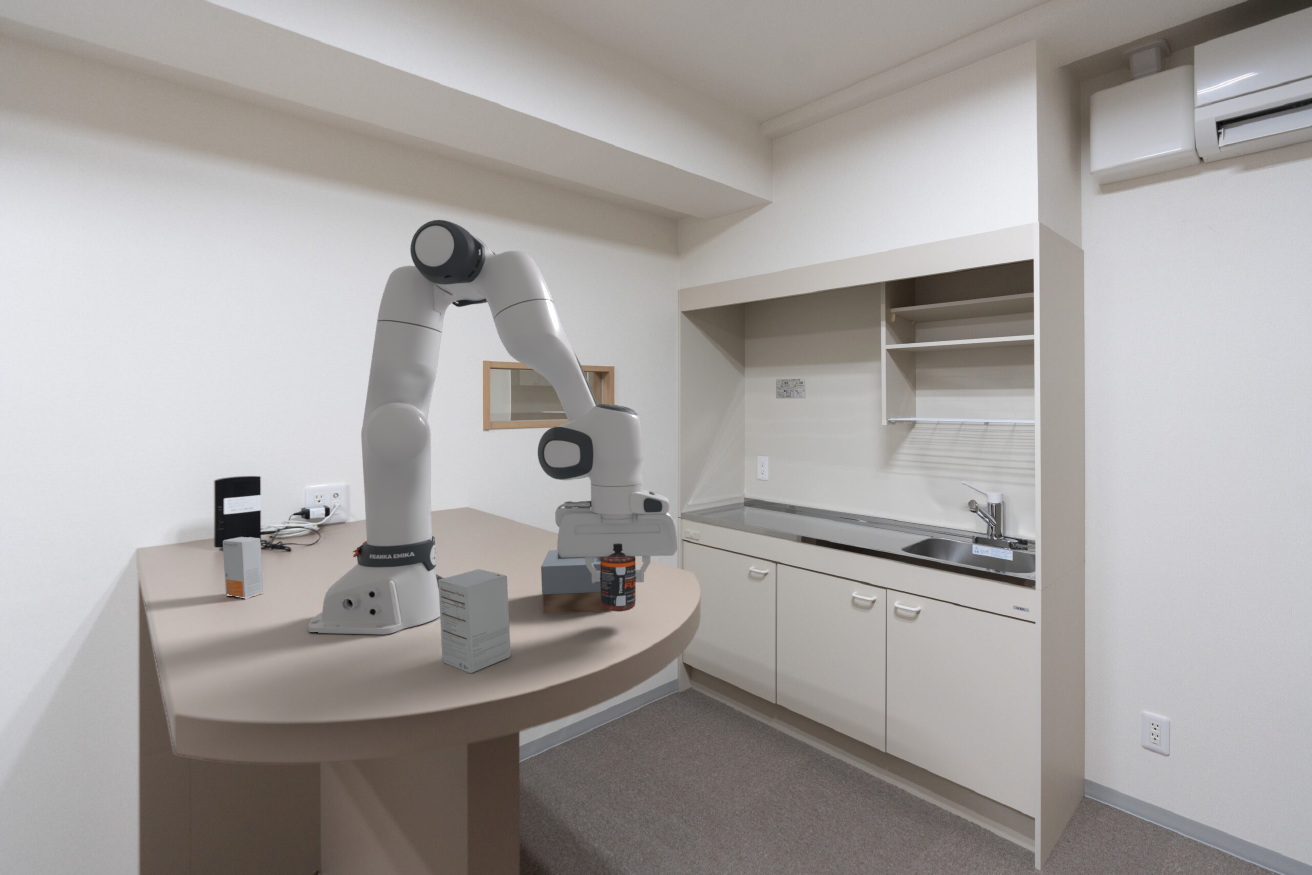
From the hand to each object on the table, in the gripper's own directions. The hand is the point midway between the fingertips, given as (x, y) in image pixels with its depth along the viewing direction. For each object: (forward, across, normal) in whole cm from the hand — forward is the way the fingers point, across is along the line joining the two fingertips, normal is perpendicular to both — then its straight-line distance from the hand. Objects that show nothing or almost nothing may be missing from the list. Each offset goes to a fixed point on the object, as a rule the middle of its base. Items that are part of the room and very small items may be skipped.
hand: (618, 581), depth 106 cm
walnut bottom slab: (+8, -7, +15) cm, 19 cm away
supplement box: (+8, -21, -12) cm, 26 cm away
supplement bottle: (+4, 0, 0) cm, 4 cm away
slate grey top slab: (+4, -8, +16) cm, 18 cm away
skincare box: (+9, -79, +28) cm, 84 cm away
